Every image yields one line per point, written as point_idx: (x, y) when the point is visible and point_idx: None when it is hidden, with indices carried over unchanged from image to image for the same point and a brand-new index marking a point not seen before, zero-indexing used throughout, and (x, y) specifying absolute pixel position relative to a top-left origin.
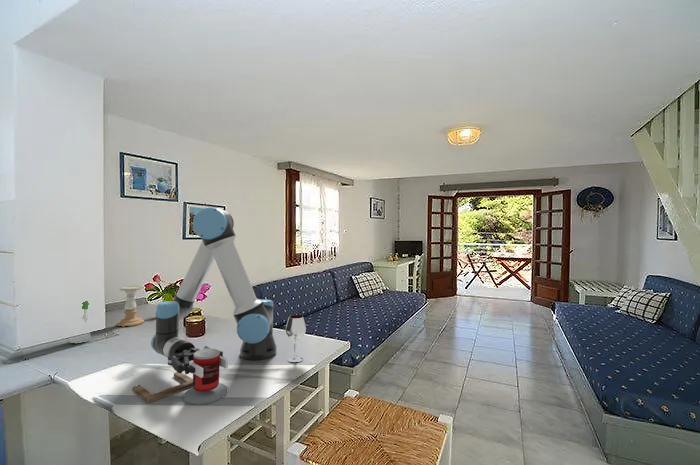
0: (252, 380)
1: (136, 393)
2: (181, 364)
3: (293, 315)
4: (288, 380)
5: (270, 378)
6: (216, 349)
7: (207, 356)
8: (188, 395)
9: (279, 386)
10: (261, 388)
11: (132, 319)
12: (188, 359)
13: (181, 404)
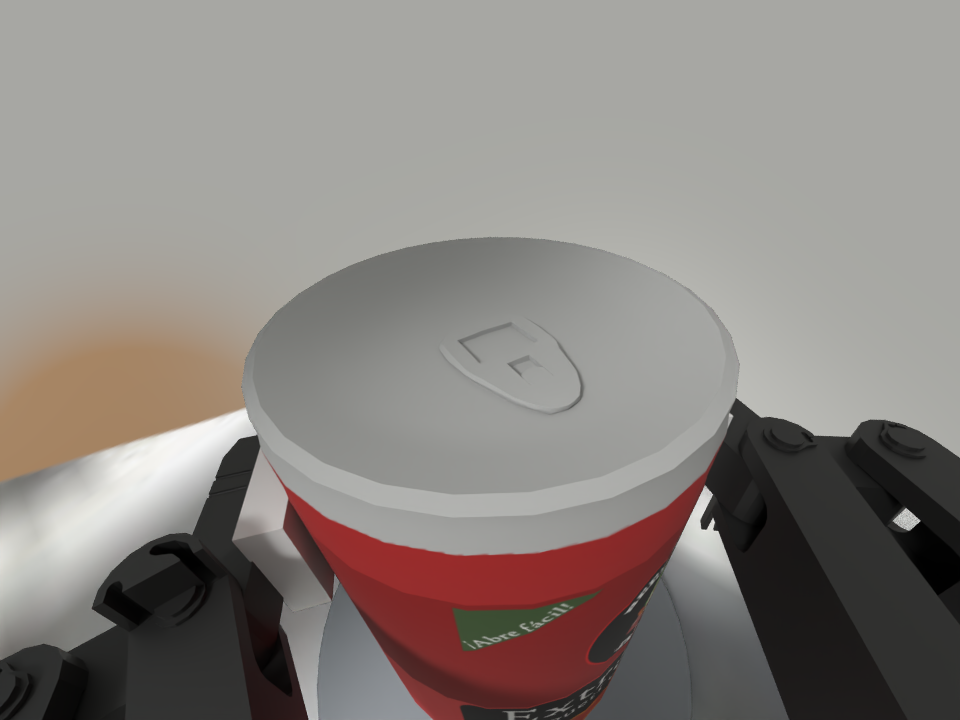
0: (109, 626)
1: None
2: (883, 434)
3: None
4: (44, 476)
5: (29, 568)
6: (261, 355)
7: (499, 275)
8: (644, 641)
9: (147, 445)
10: (211, 474)
11: None
12: (869, 645)
13: (679, 559)
